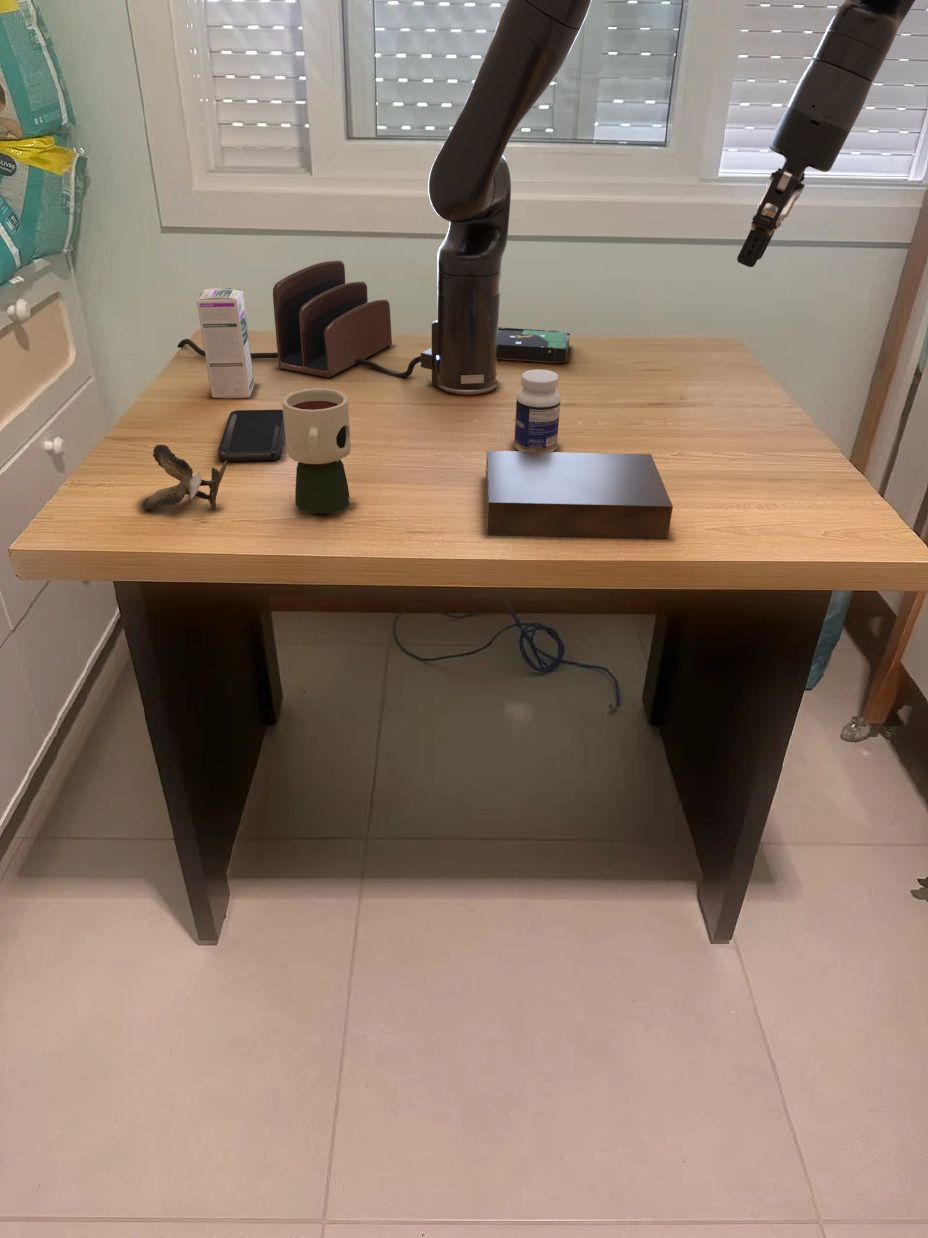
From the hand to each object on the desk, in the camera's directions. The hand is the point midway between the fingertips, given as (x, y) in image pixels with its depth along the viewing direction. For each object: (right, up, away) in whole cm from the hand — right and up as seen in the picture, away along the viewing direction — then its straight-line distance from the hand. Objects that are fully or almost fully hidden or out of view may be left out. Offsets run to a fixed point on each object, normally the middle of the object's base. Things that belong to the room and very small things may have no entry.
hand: (748, 260), depth 108 cm
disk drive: (-24, +2, +45) cm, 51 cm away
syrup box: (-70, -9, +26) cm, 75 cm away
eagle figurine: (-67, -30, -5) cm, 74 cm away
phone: (-63, -19, +11) cm, 67 cm away
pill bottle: (-25, -21, +11) cm, 34 cm away
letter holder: (-56, 0, +41) cm, 69 cm away
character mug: (-51, -31, -5) cm, 60 cm away
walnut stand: (-22, -31, -4) cm, 38 cm away
